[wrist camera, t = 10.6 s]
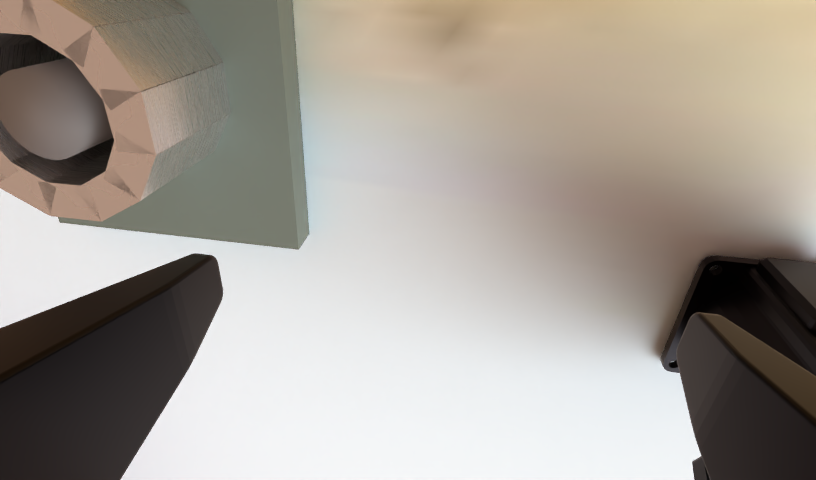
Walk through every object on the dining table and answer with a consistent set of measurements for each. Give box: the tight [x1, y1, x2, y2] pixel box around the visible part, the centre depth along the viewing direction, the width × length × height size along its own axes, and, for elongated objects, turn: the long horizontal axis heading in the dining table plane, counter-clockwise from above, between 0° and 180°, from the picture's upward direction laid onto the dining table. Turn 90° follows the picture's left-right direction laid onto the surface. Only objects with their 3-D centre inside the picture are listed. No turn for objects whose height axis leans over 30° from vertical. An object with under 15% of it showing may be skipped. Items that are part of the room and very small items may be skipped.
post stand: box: [0, 0, 309, 249], centre depth 17 cm, size 14×12×6 cm
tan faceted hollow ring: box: [0, 0, 231, 222], centre depth 17 cm, size 7×7×5 cm
